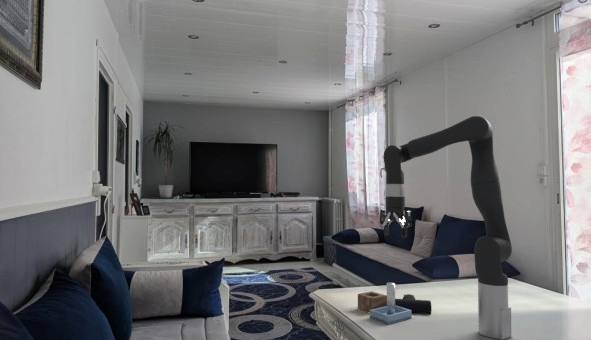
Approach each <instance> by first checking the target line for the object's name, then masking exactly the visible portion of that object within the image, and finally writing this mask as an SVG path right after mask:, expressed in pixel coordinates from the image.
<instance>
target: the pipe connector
mask: <svg viewBox="0 0 591 340" xmlns="http://www.w3.org/2000/svg"><path fill="white" fill-rule="evenodd" d="M395 305H396V306H399V307H402V308H406V309H409V310H412V313H414V314H428V315H429V314H431V315H432V301H431V300H427V299H423V300H422V299H416V298H415V295H414V294H410V293H409V294H403V297H402V298H395Z"/></svg>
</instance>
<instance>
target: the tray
mask: <svg viewBox="0 0 591 340" xmlns="http://www.w3.org/2000/svg"><path fill="white" fill-rule="evenodd" d="M412 317H413V316H412V310H409V309H406V308H402V307H399V306H396V305H395V314H391V315H387V306H385V307H381V308H377V309H372V310H370V313H369V318H370V319H372V320H373V321H377V322H380V323H383V324H385V325H392V324H396V323H399V322H403V321H407V320H411V319H412Z"/></svg>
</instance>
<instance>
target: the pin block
mask: <svg viewBox="0 0 591 340" xmlns="http://www.w3.org/2000/svg"><path fill="white" fill-rule="evenodd" d="M385 306H387V294H383V293H380V292H379V293H378V292H376V291H374V290H372V291H366V292H361V293H358V294H357V310H359V309H360V310H359V311H362V310H363V312H365V311H366V313H368V312H369V313H368V314H370V310H372V309H377V308H381V307H385Z"/></svg>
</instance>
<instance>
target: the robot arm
mask: <svg viewBox="0 0 591 340" xmlns="http://www.w3.org/2000/svg"><path fill="white" fill-rule="evenodd" d="M493 131H494V130H493V126H492V124H491V123H490V121H489V120H487V119H486V118H485V117H483V116H482V115H473V116H470V117H468V118H466V119H464V120H461V121H460V122H457V123H456V124H453V125H451V126H449V127H447V128H444V129H442V130H439V131H436V132H433V133H430V134H427V135H424V136H421V137H417V138H415V139H411V140H409V141H408V142H407V143H405V144H402V145H395V144H394V145H393V144H391V145H388V146H387V147H386V148H385V149H384V152H383V164H384V169H385V182H386V183H385V184H386V185H385V207H386V209H385V208H384V209H380V211H379V224H380V225H382V226H383V234H384V236H390V224H391V223H392V222H397V223H398V224H399V225H400V227H401V228H400V237H401V238H402V239H403V238H407V236H408V228H410V227H412V225H413V224H412V223H413V222H412V211H411V210H405V208H406V207H405V206H406V188H405V172H404V170H403V169H402V164H403V163H406V162H409V161H411V160H413V159H415V158H419V157H422V156H426V155H429V154H433V153H435V152H438V151H440V150H441V149H444V148H445V147H448V146H452V145H453V144H457V143H462V142H468V144H469V148H470V154H471V169H470V186H471V193H472V198H473V202H474V203H475V206H476V208H477V209H478V211H479V213H480V215H481V218H482V220H483V222H484V226H485V233H486V234H485V235H483V236H480V237H478V238H477V240H476V242H475V244H474V250H473V251H474V252H473V253H474V254H473V255H474V268H475V273H476V276H477V292H478V293H477V304H478V305H477V306H478V307H477V309H478V310H477V311H478V312H477V313H478V314H477V316H478V320H477V321H478V322H477V323H478V325H477V327H478V334H480V335H482V336H483V337H486V338H489V339H496V340H497V339H498V340H505V339H508V338H510V337H512V308H511V307H510V306H509V278H508V275H506V274H505V273H504V272H503V269H502V262H505V261H506V262H507V261H508V260H509V259H510V257H511V255H512V253H513V247H512V242H511V238H510V234H509V231H508V227H507V222H506V219H505V211H504V204H503V200H502V190H501V189H502V187H501V181H500V177H499V172H498V171H499V170H498V167H497V164H496V163H497V162H496V160H495V156H494V138H493V137H494V133H493Z"/></svg>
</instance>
